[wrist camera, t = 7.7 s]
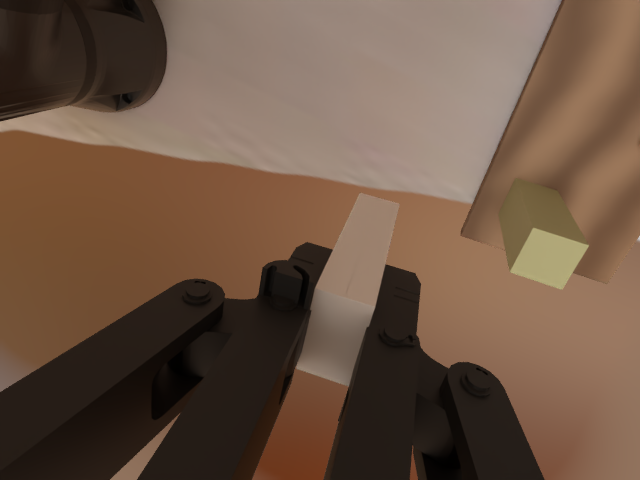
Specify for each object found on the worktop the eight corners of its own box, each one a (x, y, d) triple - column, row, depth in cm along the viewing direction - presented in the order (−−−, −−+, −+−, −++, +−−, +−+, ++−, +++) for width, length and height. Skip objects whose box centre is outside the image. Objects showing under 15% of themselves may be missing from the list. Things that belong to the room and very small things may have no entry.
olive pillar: (498, 214, 45) (509, 272, 34) (515, 177, 43) (533, 227, 33) (538, 226, 44) (562, 289, 34) (557, 190, 42) (589, 245, 32)
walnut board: (460, 231, 48) (460, 235, 47) (619, -129, 33) (624, -134, 32) (603, 278, 46) (607, 284, 45) (841, -83, 31) (854, -87, 30)
